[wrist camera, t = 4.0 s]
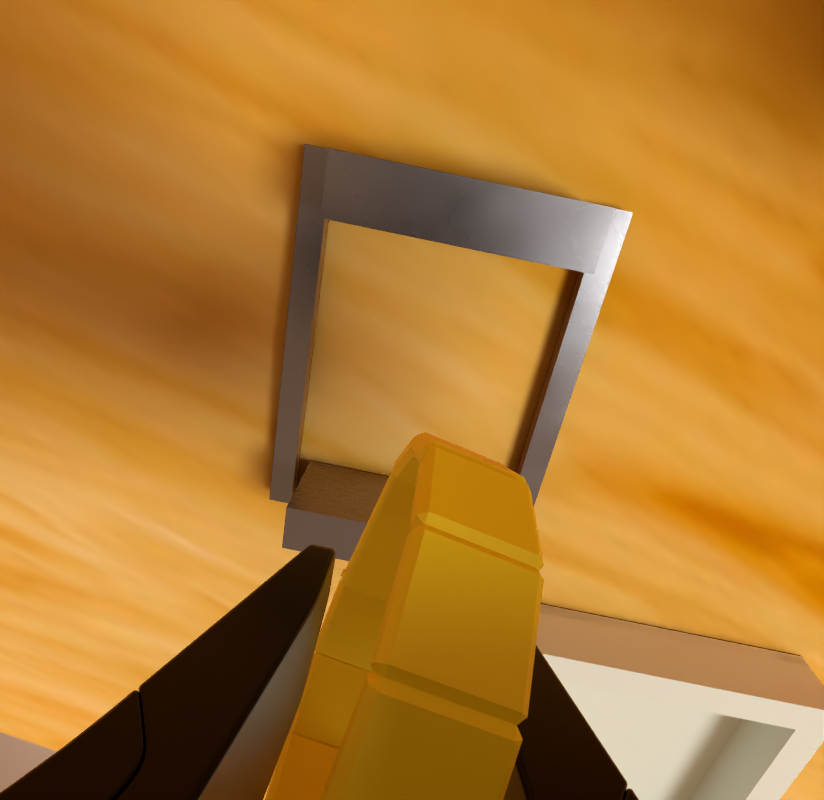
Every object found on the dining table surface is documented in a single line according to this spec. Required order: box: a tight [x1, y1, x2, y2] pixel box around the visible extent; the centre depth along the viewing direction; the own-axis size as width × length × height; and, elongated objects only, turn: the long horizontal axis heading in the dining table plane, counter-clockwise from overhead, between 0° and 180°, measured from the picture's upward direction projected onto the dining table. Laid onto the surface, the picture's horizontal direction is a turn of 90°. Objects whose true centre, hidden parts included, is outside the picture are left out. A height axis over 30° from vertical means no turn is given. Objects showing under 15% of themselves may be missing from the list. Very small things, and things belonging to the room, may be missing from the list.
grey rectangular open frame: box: [269, 144, 633, 561], centre depth 16 cm, size 9×12×3 cm
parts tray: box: [536, 604, 824, 800], centre depth 23 cm, size 12×12×2 cm
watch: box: [265, 432, 543, 800], centre depth 7 cm, size 6×3×6 cm, turn 157°
